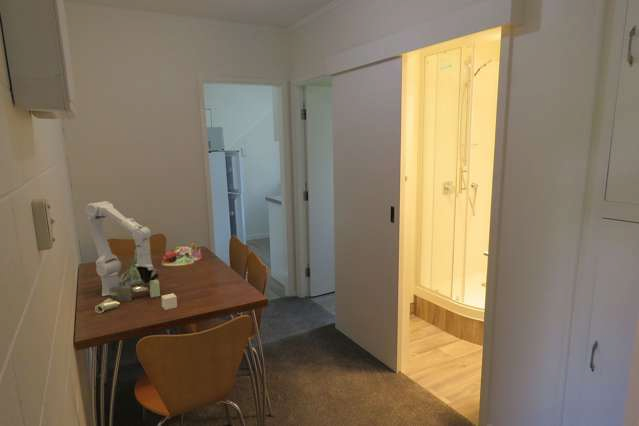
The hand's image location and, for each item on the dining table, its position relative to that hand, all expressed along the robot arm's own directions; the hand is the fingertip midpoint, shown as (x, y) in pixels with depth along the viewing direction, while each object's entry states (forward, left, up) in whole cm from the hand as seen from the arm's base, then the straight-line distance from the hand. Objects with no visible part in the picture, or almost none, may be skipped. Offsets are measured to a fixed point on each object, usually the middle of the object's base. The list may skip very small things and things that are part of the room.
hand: (146, 281), depth 182 cm
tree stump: (-30, -3, -7) cm, 31 cm away
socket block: (0, +3, -7) cm, 8 cm away
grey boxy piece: (0, -11, -7) cm, 13 cm away
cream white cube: (+19, +7, -7) cm, 22 cm away
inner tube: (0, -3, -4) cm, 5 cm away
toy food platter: (-56, +25, -8) cm, 62 cm away
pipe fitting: (+9, -16, -7) cm, 20 cm away
